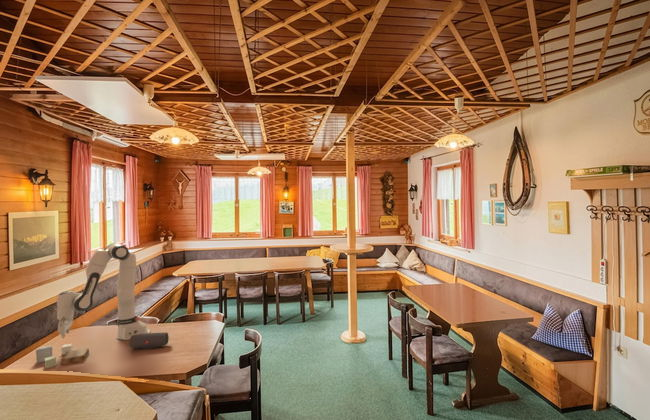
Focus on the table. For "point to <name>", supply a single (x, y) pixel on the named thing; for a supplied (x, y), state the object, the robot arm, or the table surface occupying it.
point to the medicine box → (43, 353)
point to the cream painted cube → (67, 348)
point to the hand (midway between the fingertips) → (65, 335)
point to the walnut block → (75, 356)
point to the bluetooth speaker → (148, 340)
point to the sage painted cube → (50, 361)
